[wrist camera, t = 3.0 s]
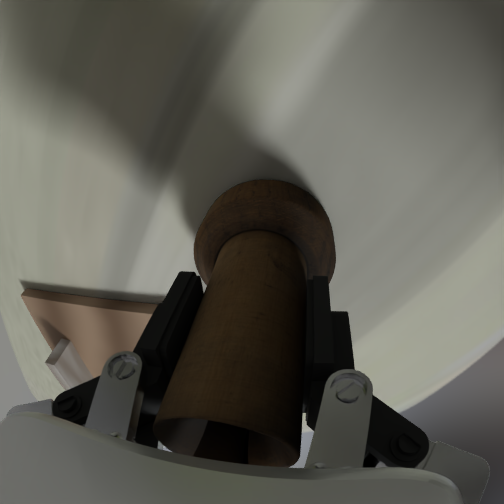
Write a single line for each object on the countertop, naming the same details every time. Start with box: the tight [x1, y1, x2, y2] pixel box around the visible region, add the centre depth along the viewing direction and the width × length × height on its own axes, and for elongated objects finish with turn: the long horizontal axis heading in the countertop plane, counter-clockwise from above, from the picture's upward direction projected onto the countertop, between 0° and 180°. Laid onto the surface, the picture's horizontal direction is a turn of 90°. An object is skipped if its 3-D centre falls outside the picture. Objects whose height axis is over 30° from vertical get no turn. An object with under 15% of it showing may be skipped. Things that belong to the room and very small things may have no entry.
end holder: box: [21, 288, 165, 447], centre depth 23 cm, size 18×16×4 cm
